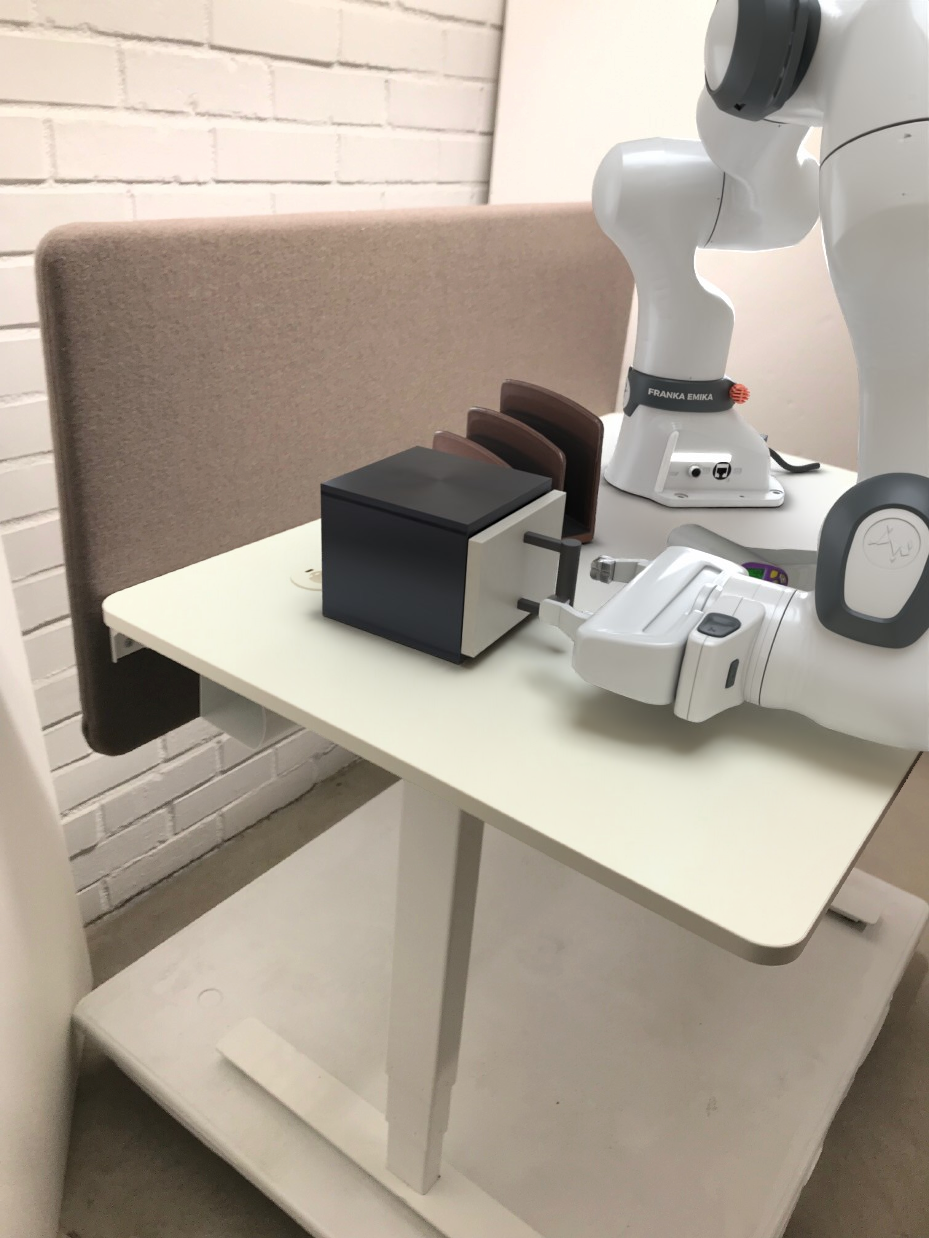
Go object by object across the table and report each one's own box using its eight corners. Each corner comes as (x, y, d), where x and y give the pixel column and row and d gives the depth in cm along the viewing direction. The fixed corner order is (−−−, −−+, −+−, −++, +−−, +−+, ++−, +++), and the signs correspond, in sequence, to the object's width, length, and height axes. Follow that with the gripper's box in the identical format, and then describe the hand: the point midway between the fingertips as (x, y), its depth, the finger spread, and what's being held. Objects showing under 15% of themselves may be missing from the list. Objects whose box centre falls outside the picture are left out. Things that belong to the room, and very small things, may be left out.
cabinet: (538, 603, 83) (552, 478, 77) (459, 664, 72) (468, 524, 67) (412, 563, 89) (417, 445, 84) (322, 615, 78) (320, 483, 73)
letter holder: (499, 484, 112) (508, 369, 105) (594, 543, 97) (612, 412, 90) (427, 493, 107) (432, 374, 101) (515, 556, 92) (528, 420, 86)
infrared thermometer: (851, 599, 90) (732, 610, 84) (769, 552, 100) (657, 559, 93) (865, 557, 88) (745, 565, 82) (780, 513, 98) (667, 517, 91)
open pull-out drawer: (603, 609, 80) (618, 505, 75) (527, 677, 69) (540, 559, 64) (426, 555, 88) (430, 458, 84) (333, 608, 77) (332, 499, 72)
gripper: (784, 552, 73) (624, 512, 79) (704, 653, 57) (513, 593, 63) (767, 621, 76) (614, 577, 82) (687, 735, 60) (506, 671, 66)
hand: (569, 585), depth 72 cm, fingers open, 8 cm apart
